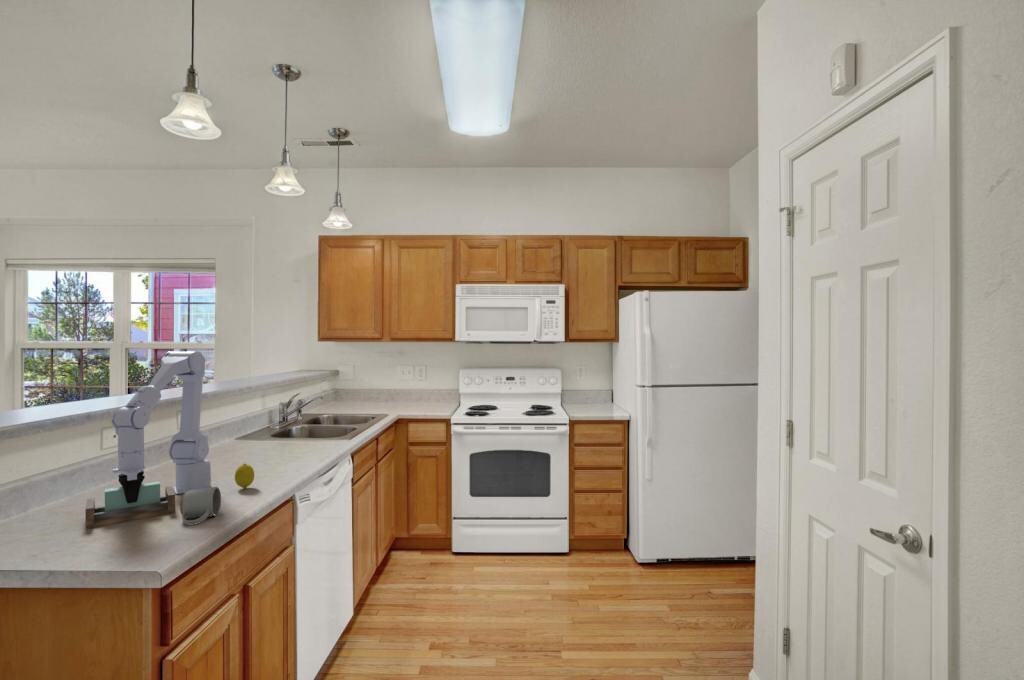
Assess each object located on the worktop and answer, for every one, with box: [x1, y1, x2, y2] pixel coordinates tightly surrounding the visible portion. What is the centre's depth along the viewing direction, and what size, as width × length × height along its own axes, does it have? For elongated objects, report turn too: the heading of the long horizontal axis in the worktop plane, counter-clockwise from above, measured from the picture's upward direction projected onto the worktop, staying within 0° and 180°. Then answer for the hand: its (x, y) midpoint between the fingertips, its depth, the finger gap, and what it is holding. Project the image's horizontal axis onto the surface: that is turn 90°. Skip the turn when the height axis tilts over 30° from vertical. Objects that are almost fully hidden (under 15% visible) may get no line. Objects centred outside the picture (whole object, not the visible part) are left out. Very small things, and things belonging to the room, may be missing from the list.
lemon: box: [234, 463, 255, 489], centre depth 161 cm, size 6×6×8 cm
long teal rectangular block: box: [104, 480, 161, 511], centre depth 138 cm, size 12×3×6 cm, turn 128°
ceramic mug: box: [179, 486, 222, 525], centre depth 135 cm, size 11×8×8 cm
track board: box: [85, 485, 176, 529], centre depth 138 cm, size 19×10×5 cm, turn 128°
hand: (131, 500), depth 138 cm, fingers closed on long teal rectangular block, 3 cm apart
